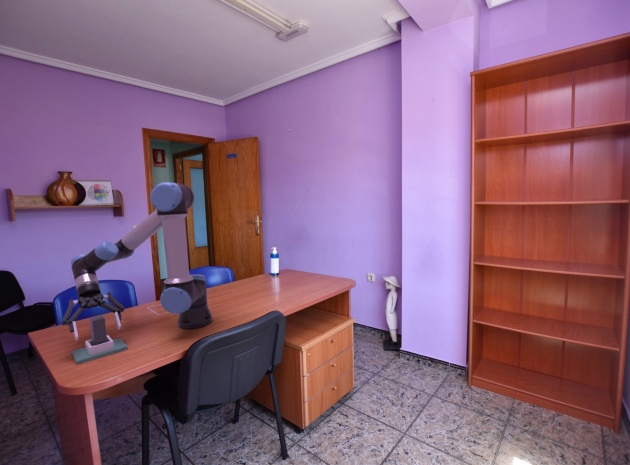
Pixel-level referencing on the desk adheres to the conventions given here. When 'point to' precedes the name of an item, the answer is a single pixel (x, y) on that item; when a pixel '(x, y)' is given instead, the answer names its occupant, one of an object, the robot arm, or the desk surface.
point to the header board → (98, 350)
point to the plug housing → (98, 330)
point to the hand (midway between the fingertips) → (99, 333)
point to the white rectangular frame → (154, 312)
